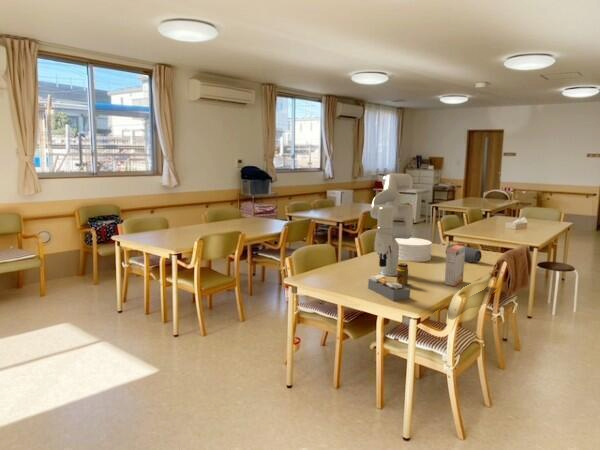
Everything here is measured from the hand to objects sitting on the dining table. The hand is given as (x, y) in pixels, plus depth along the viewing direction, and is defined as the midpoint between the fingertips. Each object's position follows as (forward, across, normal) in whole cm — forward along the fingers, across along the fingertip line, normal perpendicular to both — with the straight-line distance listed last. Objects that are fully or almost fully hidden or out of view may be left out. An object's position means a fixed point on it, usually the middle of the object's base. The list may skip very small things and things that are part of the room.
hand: (382, 266), depth 233 cm
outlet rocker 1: (+9, -8, +3) cm, 12 cm away
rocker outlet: (+9, +6, +3) cm, 12 cm away
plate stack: (+13, -68, +70) cm, 98 cm away
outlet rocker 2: (+9, -1, +3) cm, 10 cm away
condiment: (+15, -11, +22) cm, 29 cm away
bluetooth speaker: (+13, -46, +98) cm, 109 cm away
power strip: (+15, -1, +5) cm, 16 cm away
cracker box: (+14, -4, +52) cm, 54 cm away
